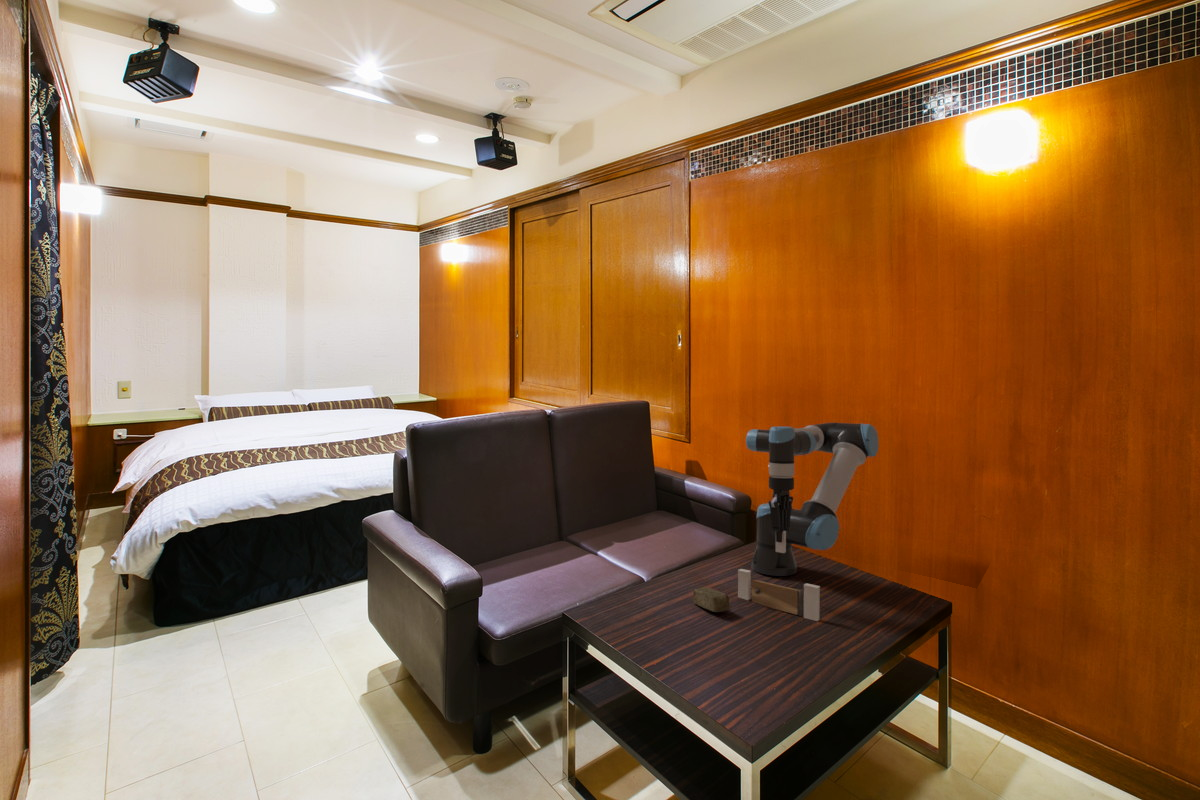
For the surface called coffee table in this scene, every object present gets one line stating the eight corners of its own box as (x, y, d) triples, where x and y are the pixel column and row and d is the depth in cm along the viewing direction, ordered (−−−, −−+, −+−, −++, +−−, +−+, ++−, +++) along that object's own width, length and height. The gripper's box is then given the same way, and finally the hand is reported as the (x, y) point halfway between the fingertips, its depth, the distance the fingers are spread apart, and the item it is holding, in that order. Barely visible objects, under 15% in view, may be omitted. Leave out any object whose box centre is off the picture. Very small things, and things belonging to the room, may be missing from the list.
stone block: (715, 614, 169) (714, 597, 169) (691, 604, 179) (691, 588, 179) (731, 611, 172) (730, 593, 172) (706, 601, 182) (706, 585, 182)
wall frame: (740, 598, 185) (740, 568, 184) (819, 619, 168) (820, 586, 168) (737, 600, 183) (737, 570, 183) (817, 621, 167) (817, 588, 166)
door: (753, 602, 181) (753, 578, 181) (803, 615, 171) (803, 590, 171) (749, 604, 179) (749, 580, 179) (799, 618, 169) (799, 592, 169)
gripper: (778, 473, 189) (778, 545, 189) (760, 477, 179) (759, 554, 179) (801, 475, 184) (800, 550, 184) (784, 479, 174) (783, 558, 174)
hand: (780, 551), depth 182 cm, fingers closed
